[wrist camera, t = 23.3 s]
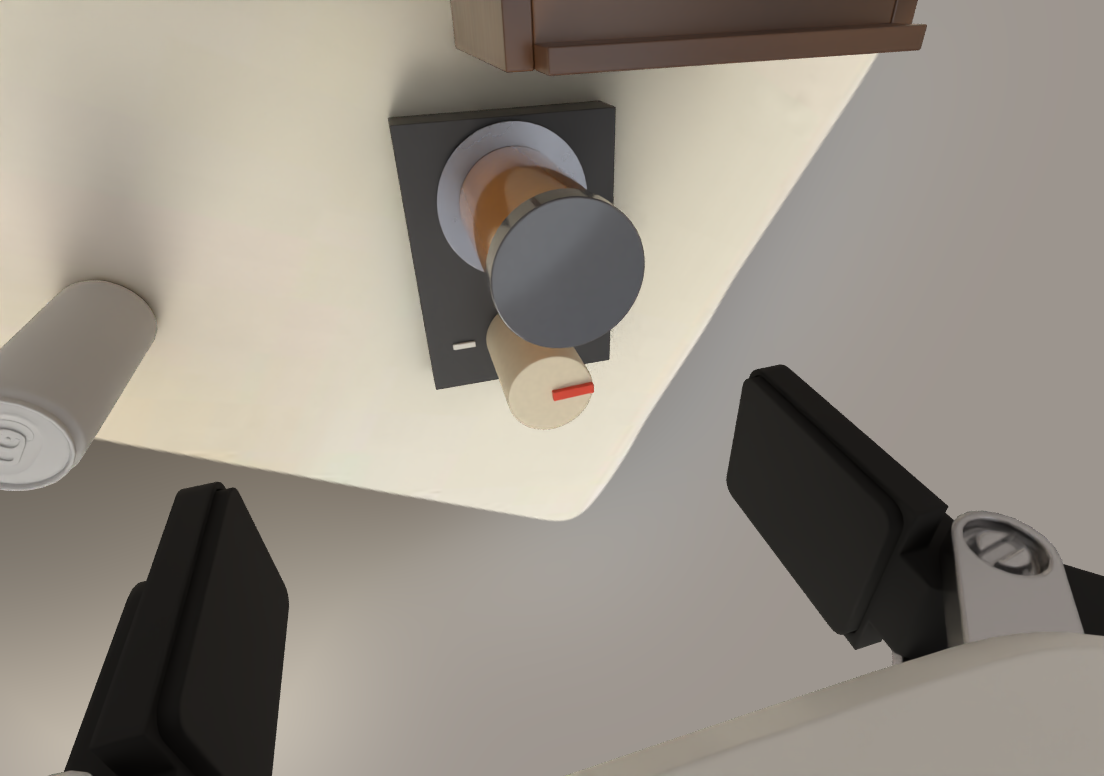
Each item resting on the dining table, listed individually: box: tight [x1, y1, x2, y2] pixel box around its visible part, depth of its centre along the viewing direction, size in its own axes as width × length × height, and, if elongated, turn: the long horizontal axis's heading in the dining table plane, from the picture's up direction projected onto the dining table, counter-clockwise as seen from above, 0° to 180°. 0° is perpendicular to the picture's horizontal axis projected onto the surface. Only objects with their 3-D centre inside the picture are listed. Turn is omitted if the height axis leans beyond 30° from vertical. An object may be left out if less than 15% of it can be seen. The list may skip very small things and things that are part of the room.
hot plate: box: [388, 101, 616, 390], centre depth 36 cm, size 18×12×3 cm
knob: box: [486, 314, 594, 430], centre depth 35 cm, size 5×5×7 cm
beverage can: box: [0, 280, 157, 491], centre depth 28 cm, size 5×5×12 cm
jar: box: [459, 146, 645, 348], centre depth 28 cm, size 7×7×11 cm
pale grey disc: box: [436, 120, 587, 272], centre depth 33 cm, size 9×9×1 cm
